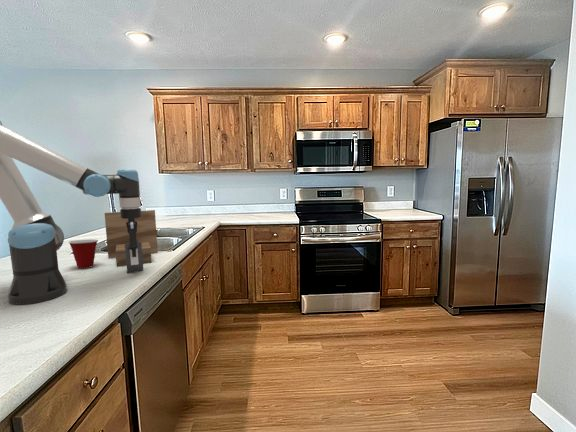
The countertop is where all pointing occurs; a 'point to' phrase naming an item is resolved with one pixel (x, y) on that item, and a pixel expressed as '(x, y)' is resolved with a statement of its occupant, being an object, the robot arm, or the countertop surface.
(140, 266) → the dark grey rectangular post
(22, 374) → the countertop surface
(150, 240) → the wooden panel stand
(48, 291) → the robot arm
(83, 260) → the plastic cup
